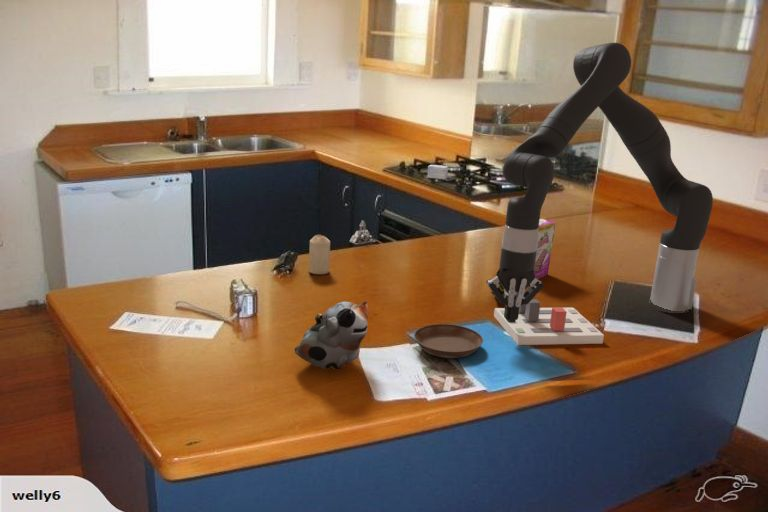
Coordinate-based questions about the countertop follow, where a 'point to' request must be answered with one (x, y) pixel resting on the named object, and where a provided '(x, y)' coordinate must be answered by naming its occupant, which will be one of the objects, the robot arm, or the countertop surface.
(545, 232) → the candy bar box
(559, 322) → the block
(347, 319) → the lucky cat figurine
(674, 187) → the robot arm
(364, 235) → the grey stone figurine
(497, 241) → the countertop surface
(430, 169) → the medicine box
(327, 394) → the countertop surface
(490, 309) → the countertop surface
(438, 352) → the saucer
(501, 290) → the tape measure
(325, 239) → the candle
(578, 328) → the breaker panel
